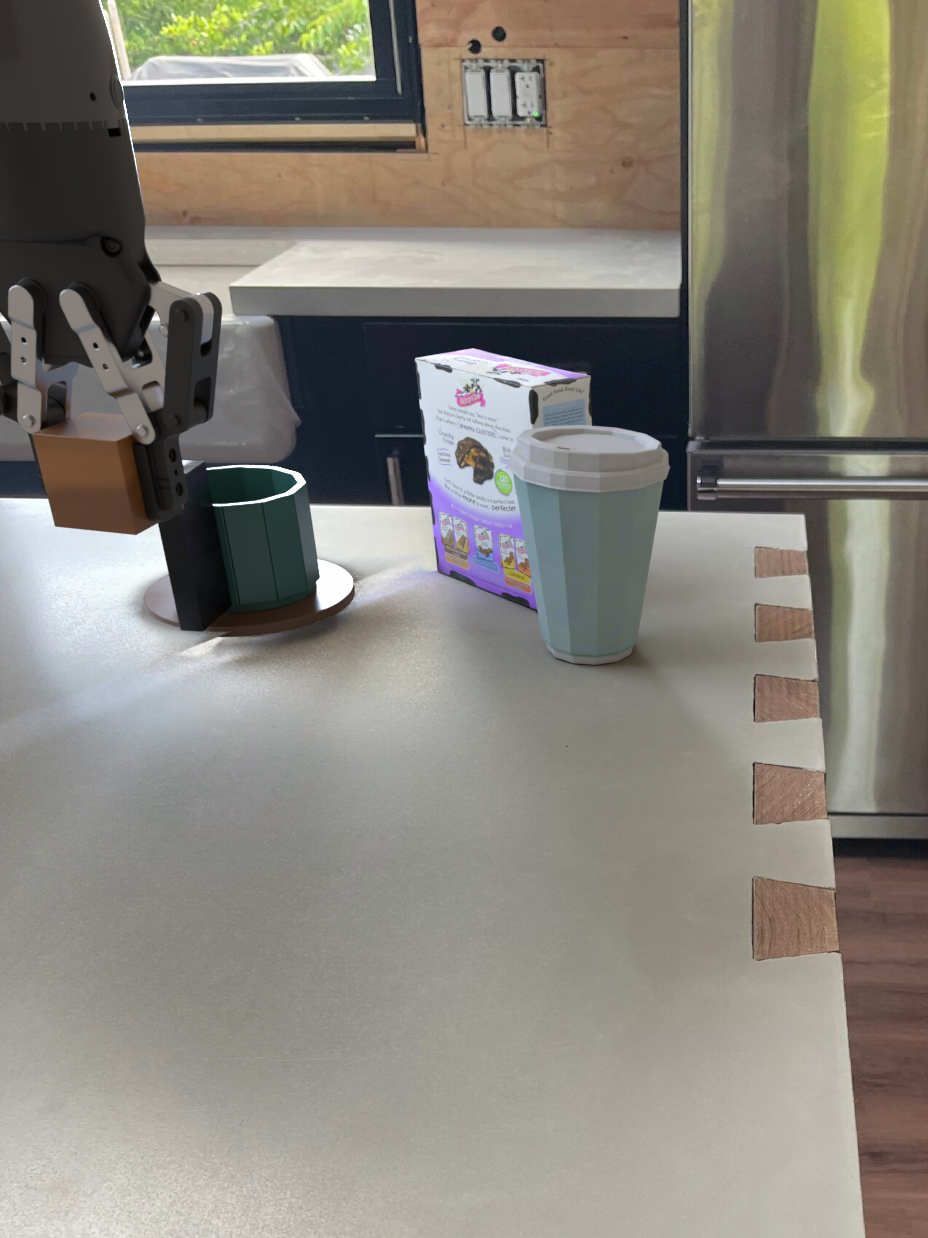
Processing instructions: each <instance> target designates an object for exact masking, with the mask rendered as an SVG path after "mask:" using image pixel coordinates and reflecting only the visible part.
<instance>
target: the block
mask: <svg viewBox="0 0 928 1238" xmlns="http://www.w3.org/2000/svg"><path fill="white" fill-rule="evenodd" d="M32 436H33V440H34V444H35V448H36V452H37V456H38V460H39V464H40V468H41V473H42V477H43V481H44V485H45V489H46V493H47V496H46V497H47V501H48V503H49V504H48V505H49V508H50V512H51V517H52V520H53V524H54V527H55V528H63V529H64V528H65V529H73V530H81V531H82V530H83V531H93V532H102V533H113V534H122V535H131V536H137V535H139V534H141V533H143V532H144V531H147V530H148V529H150V528H152V527H154V526H155V525H158V523H159V522H158V521H151V520H149V519H148V517H147V515H146V511H145V507H144V502H143V497H142V492H141V487H140V483H139V478H138V473H137V468H136V463H135V459H134V454H133V449H132V445H133V444H135V443H137V442H138V441H137V440H136V439H135V438H134V436H133V435H132V432H131V430H130V428H129V426H128V424H127V422H126V420H125V418H124V415H123V414H118V413H117V414H116V413H102V412H93V411H86V412H83V413H80V414H77V415H75V416H73V417H70V419H68V420H65V421H63V422H60V423H58V424H55V425H52V426H50V427H47V428H45V429H42V430H40V431H37V432H35V433H32ZM183 509H184V504H183V505H182V510H183Z"/></svg>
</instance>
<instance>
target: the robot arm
mask: <svg viewBox="0 0 928 1238" xmlns="http://www.w3.org/2000/svg"><path fill="white" fill-rule="evenodd" d="M115 50H116V49H115V46H114V43H113V39H112V35H111V32H110V28H109V25H108V21H107V19H106V16H105V12H104V9H103V5H102V2H101V0H0V314H1V315H2V316H3V318H4V320H5V321H6V322H7V323H8V325H9V326H11V327H10V328H11V329H10V331H11V332H10V338H9V336H8V335H7V333H6V330H5V329H4V327H3V324H2V322H1V321H0V417H1V416H2V417H5V418H7V419H9V420H11V421H13V422H15V423H17V424H19V426H20V428H21V429H22V430H23V431H24V432H26V434H27V435H28V438H29V442H30V446H31V450H32V454H33V459H34V463H35V466H36V470H37V474H38V478H39V483H40V486H41V489H42V491H43V492H44V494H45V495H46V497H47V493H46V489H45V485H44V481H43V477H42V473H41V468H40V464H39V460H38V456H37V452H36V448H35V444H34V440H33V436H32V433H35V432H37V431H40V430H42V429H45V428H47V427H50V426H52V425H55V424H58V423H60V422H63V421H65V420H68V419H70V418H72V399H73V398H72V396H73V393H72V392H73V381H74V379H75V378H76V376H77V375H78V372H79V368H80V365H81V366H84V367H86V368H90V369H93V370H94V372H95V373H96V376H97V378H98V380H99V382H100V385H101V387H102V388H103V390H104V392H105V393H107V395H109V397H113V398H114V399H115V401H116V403H117V405H118V407H119V409H120V411H121V414H122V415H124V418H125V420H126V422H127V424H128V426H129V428H130V430H131V432H132V435H133V436H134V438H135V439H136V440H137V441H138V442H137V443H135V444H133V445H132V449H133V454H134V459H135V463H136V468H137V473H138V478H139V483H140V487H141V492H142V497H143V502H144V507H145V511H146V515H147V517H148V519H149V520H151V521H158V522H166V521H168V520H169V519H171V518H173V517H175V516H177V515H178V514H180V513H181V511H182V505H183V504H185V503H187V498H188V488H187V483H186V478H185V473H184V467H183V462H182V460H183V458H182V452H181V446H180V435H181V434H184V433H185V432H188V431H190V429H192V428H194V427H196V426H198V425H202V424H205V423H206V422H209V421H211V420H212V418H213V416H214V412H215V411H214V410H215V398H216V389H217V386H216V385H217V376H218V375H217V374H218V363H219V353H220V343H221V331H222V318H223V305H222V302H221V300H220V298H219V297H218V296H217V295H216V294H215V293H213V292H211V291H203V292H199V293H191V292H189V291H186V290H184V289H181V288H179V287H177V286H174V285H171V284H169V283H167V282H164V281H162V277H161V274H160V272H159V271H158V269H157V267H156V265H155V264H154V262H153V261H152V258H151V257H150V254H149V252H148V249H147V247H146V240H145V239H146V238H145V235H146V232H145V231H146V226H147V225H146V224H147V216H146V210H145V205H144V199H143V193H142V188H141V183H140V178H139V171H138V167H137V162H136V156H135V151H134V146H133V141H132V136H131V135H132V134H131V130H130V125H129V119H128V113H127V108H126V103H125V93H124V88H123V84H122V82H121V75H120V70H119V65H118V60H117V55H116V51H115ZM155 314H157V315H158V318H159V323H160V324H159V326H158V330H159V333H160V334H161V336H162V337H165V338H166V339H167V340H166V341H167V342H166V356H165V359H166V360H165V363H164V361H163V359H162V357H161V354H160V352H159V350H158V348H157V346H156V343H155V340H154V339H153V336H152V334H151V332H150V330H149V327H150V326H151V322H152V320H153V318H154V316H155ZM130 360H131V368H128V367H126V365H125V364H124V363H125V362H128V361H130Z"/></svg>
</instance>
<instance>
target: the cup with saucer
mask: <svg viewBox="0 0 928 1238" xmlns="http://www.w3.org/2000/svg"><path fill="white" fill-rule="evenodd" d="M182 462H183V467H184V473H185V478H186V483H187V488H188V498H187V503H185V504H184V509H183V510H182V511H181V513H180V514H178V515H177V516H175V517H173V518H171V519H169V520H168V521H166V522H159V523H157V526H158V531H159V535H160V540H161V544H162V550H163V553H164V559H165V562H166V563H165V564H166V567H167V568H166V569H167V572H168V574H167V575H165V576H163V577H161V578H159V579H157V580H156V581H155V582H153V583H152V584H151V585H150V586H149V587H148V588H147V589H146V591H145V592H144V595H143V597H142V598H143V599H142V600H143V606H144V609H145V610H146V612H147V613H148V614H149V615H150V617H152V618H154V619H155V620H157V621H159V622H162V623H164V624H166V625H170V626H174V627H178V628H179V629H180V631H183V632H201V633H203V632H221V633H222V632H226V633H224V634H220V635H218V636H217V638H245V637H246V638H247V637H257V636H258V637H259V636H268V635H273V634H279V633H285V632H290V631H295V630H298V629H302V628H306V627H309V626H313V625H315V624H318V623H321V622H323V621H326V620H328V619H330V618H332V617H334V616H336V615H338V614H339V613H341V612H343V611H344V610H345V609H346V608H348V606H350V605H351V604H352V602H353V601H354V598H355V596H356V588H355V582H354V579H353V576H352V575H351V574H350V573H349V571H347V570H346V569H345V568H343V567H340V566H339V565H337V564H334V563H331V562H329V561H325V560H321V559H319V558H318V552H317V545H316V539H315V532H314V531H315V530H314V524H313V520H312V519H313V517H312V512H311V511H312V510H311V505H310V497H309V491H308V484H307V482H306V480H305V478H304V477H303V476H302V474H301V473H299V472H298V471H294V470H289V469H286V468H282V467H279V466H273V465H272V466H270V465H254V464H253V465H252V464H251V465H249V464H238V465H237V464H236V465H226V466H225V465H223V466H215V467H207V465H206V461H204V460H190V459H189V460H188V459H187V460H186V459H182Z"/></svg>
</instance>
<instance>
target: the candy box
mask: <svg viewBox="0 0 928 1238" xmlns="http://www.w3.org/2000/svg"><path fill="white" fill-rule="evenodd" d="M414 363H415V373H416V382H417V392H418V400H419V401H418V402H419V410H420V420H421V428H422V429H421V430H422V436H423V437H422V438H423V439H422V440H423V448H424V449H423V451H424V456H425V457H424V459H425V467H426V475H427V486H428V494H429V505H430V513H431V524H432V533H433V542H434V551H435V560H436V569H437V571H438V572H439V573H442V574H444V575H447V576H449V577H453V578H455V579H458V580H460V581H461V582H464V583H467V584H470V585H472V586H475V587H478V588H479V589H482V590H484V591H487V592H490V593H493V594H496V595H498V596H500V597H503V598H505V599H508V600H510V601H513V602H515V603H519V604H521V605H524V606H526V607H528V608H531V609H533V610H537V605H536V599H535V594H534V588H533V583H532V577H531V571H530V566H529V560H528V555H527V549H526V543H525V538H524V532H523V526H522V521H521V515H520V510H519V504H518V498H517V493H516V487H515V482H514V476H513V472H511V471H510V470H509V469H508V468H509V466H510V454H511V453H512V451H513V450H514V448H515V447H516V445H517V437H518V436H519V435H520V434H521V433H523V432H524V431H525V430H530V429H535V428H541V427H546V426H567V425H588V426H593V421H592V420H593V418H592V376H591V375H588V374H583V373H578V372H573V371H570V370H564V369H560V368H558V367H557V368H556V367H551V366H549V365H544V364H539V363H536V362H531V361H526V360H523V359H518V358H514V357H511V356H505V355H502V354H498V353H493V352H489V351H485V350H482V349H477V348H467V349H461V350H455V351H454V350H453V351H448V352H443V353H436V354H432V355H426V356H420V357H419V356H418V357H415V358H414Z"/></svg>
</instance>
